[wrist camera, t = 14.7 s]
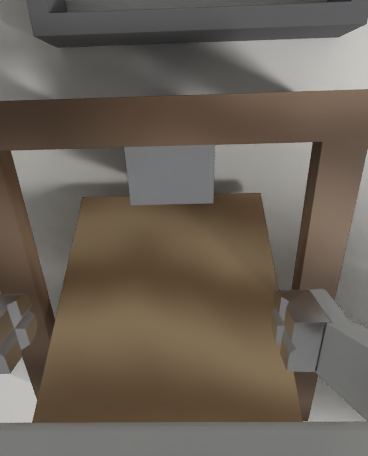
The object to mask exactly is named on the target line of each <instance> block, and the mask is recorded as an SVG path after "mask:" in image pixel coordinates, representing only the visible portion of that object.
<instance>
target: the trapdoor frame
mask: <svg viewBox="0 0 368 456" xmlns="http://www.w3.org/2000/svg"><path fill="white" fill-rule="evenodd" d="M294 142H313V145H312V152H311V159H310V166H309V173H308V180H307V186H306V193H305V200H304V207H303V214H302V221H301V228H300V235H299V242H298V249H297V256H296V263H295V269H294V276H293V283H292V290H307V289H324V290H326V291H327V292H328V294H329V295H330V296H331V298H332V299H333V300H335V295H336V291H337V286H338V281H339V277H340V272H341V268H342V263H343V259H344V254H345V250H346V245H347V240H348V236H349V231H350V227H351V222H352V218H353V213H354V208H355V204H356V199H357V195H358V190H359V186H360V181H361V177H362V172H363V167H364V163H365V158H366V154H367V149H368V89H365V90H334V91H302V92H271V93H240V94H208V95H177V96H146V97H115V98H83V99H52V100H21V101H0V292H1V294H26V295H28V296H29V297H30V299H31V302H32V306H31V307H30V309H29V310H30V311H31V312H32V313H33V314H35V316H36V319H37V331H36V334H35V337H34V339H33V341H32V342H31V344H30V345H28V346H27V347H25V348H24V349H22V355H23V356H22V357H23V360H24V363H25V366H26V369H27V372H28V374H29V377H30V380H31V383H32V386H33V389H34V392H35V395H36V398H37V399H38V395H39V390H40V386H41V381H42V377H43V373H44V368H45V364H46V359H47V355H48V350H49V346H50V341H51V337H52V332H53V328H54V323H55V319H54V315H53V311H52V307H51V303H50V299H49V296H48V292H47V288H46V284H45V280H44V276H43V273H42V269H41V265H40V261H39V257H38V253H37V250H36V246H35V242H34V238H33V234H32V230H31V227H30V223H29V219H28V215H27V211H26V208H25V204H24V200H23V196H22V192H21V188H20V185H19V181H18V177H17V173H16V169H15V165H14V162H13V158H12V154H11V150H43V149H79V148H115V147H150V146H186V145H222V144H258V143H294ZM293 372H294V377H295V382H296V388H297V393H298V399H299V404H300V409H301V415H302V420H303V421H308V418H309V414H310V409H311V405H312V400H313V395H314V391H315V386H316V382H317V377H318V375H317V374H316V372H295V371H293Z"/></svg>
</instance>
